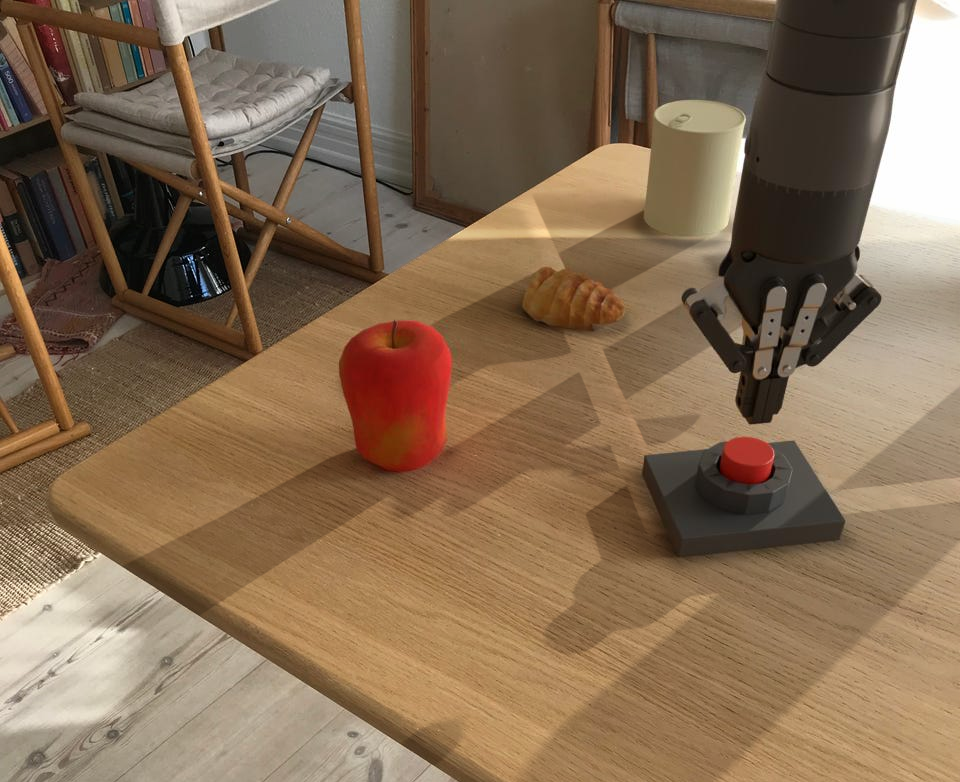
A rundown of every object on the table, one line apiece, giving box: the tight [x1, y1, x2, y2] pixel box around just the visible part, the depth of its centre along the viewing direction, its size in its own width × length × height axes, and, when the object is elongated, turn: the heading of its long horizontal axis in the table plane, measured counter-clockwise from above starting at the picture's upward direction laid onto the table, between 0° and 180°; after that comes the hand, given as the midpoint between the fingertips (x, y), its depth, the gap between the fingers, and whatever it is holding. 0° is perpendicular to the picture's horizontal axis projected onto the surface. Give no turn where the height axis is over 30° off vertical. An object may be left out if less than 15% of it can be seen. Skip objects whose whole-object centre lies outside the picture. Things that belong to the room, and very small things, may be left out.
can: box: [643, 99, 747, 238], centre depth 107 cm, size 9×9×12 cm
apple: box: [338, 319, 453, 473], centre depth 79 cm, size 9×8×12 cm
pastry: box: [521, 266, 627, 332], centre depth 97 cm, size 9×7×4 cm
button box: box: [641, 440, 846, 559], centre depth 76 cm, size 12×10×4 cm
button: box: [720, 436, 774, 485], centre depth 75 cm, size 4×4×2 cm
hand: (755, 417), depth 72 cm, fingers closed
